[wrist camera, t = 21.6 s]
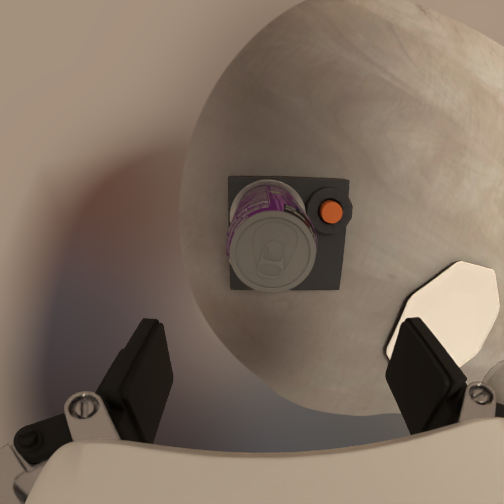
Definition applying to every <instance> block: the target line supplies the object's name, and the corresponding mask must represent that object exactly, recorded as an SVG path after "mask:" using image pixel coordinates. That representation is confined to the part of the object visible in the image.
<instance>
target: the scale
mask: <svg viewBox="0 0 504 504" xmlns="http://www.w3.org/2000/svg"><path fill="white" fill-rule="evenodd" d="M263 179H272V180H278V181H281V182H284V183H286V184H287V185H289V186H290V187H292V188H293V189H294V190H295V191H296V192H297V193H298V194H299V196H300V197H301V199H302V201H303V203H304V206H305V210H306V215H307V216H308V217H309V219H310V220H311V222H312V224H313V226H314V228H315V231H316V235H317V252H316V257H315V262H314V265H313V267H312V269H311V271H310V273H309V274H308V276H307V277H306V278H305V279H304V280H303V281H302V282H301V283H300V284H298V285H297V286H295V287H294V288H292V289H289V290H339V287H340V279H341V271H342V262H343V253H344V244H345V233H346V226H347V224H348V223H349V221H350V220H351V218H352V207H353V206H352V204H351V202H350V199H349V197H348V194H349V180H346V179H336V178H317V177H289V176H229V177H228V203H229V227H230V210H231V206H232V203H233V201H234V199H235V197H236V196H237V194H238V193H239V192H240V191H241V190H242V189H243V188H244V187H245V186H247V185H248V184H250V183H252V182H255V181H258V180H263ZM328 200H332V201H334V202H336V203H337V204H339V205H340V206H341V208H342V217H341V219H340V220H339V221H338V222H336V223H333V224H331V223H327V222H326V221H324V219H323V218H322V217H321V216H320V212H319V210H320V206H321V205H322V204H323V203H324V202H325V201H328ZM230 288H231V290H255V289H253V288H251V287H249V286H247V285H246V284H245V283H243V282H242V281H241V280H240V279H239V278H238V276H237V275H236V273H235V272H234V270H233V268H232V266H231V264H230Z"/></svg>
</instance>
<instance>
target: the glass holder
mask: <svg viewBox="0 0 504 504" xmlns="http://www.w3.org/2000/svg"><path fill="white" fill-rule="evenodd" d="M483 383H486V384H488V385H489V386H491V387H492V388H493V390H494V391H495V393H496V402H497V403H500V404H503V405H504V360H503V361H501V362H499V363H497V364H496V365H495V366H494V367H493V368H492V369H491V370H490V371H489V372H488V374H487V375H486V376H485V378H484V380H483Z"/></svg>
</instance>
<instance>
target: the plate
mask: <svg viewBox="0 0 504 504" xmlns="http://www.w3.org/2000/svg"><path fill="white" fill-rule="evenodd" d="M499 309H500V304H499V296H498V288H497V281H496V275H495V272H494V270H493V269H491V268H487V267H483V266H479V265H476V264H472V263H468V262H464V261H458V262H455V263H454V264H452V265H451V266H450V267H448V268H447V269H446V270H445V271H443V272H442V273H441V274H439V275H438V276H437V277H435V278H434V279H433V280H431V281H430V282H429V283H427V284H426V285H424V286H423V287H422V288H420V289H419V290H417V291H416V292H415V293H413V294H412V295H411V296H410V298H409V299H408V300H407V303H406V305H405V307H404V310H403V312H402V315H401V317H400V319H399V322H398V324H397V326H396V328H395V330H394V333H393V335H392V337H391V339H390V341H389V343H388V345H387V347H386V354H387V356H388V358H389V360H390V358H391V355H392V352H393V349H394V345H395V342H396V339H397V336H398V332H399V329H400V325H401V323H402V322H404V321H405V319H406V318H413V317H420V318H421V319H422V321H423V322H424V323H425V324H426V325H427V327H428V328H429V329H430V330H431V332H432V333H433V334H434V335H435V337H436V338H437V339H438V340H439V342H440V343H441V344H442V346H443V347H444V348H445V349H446V351H447V352H448V353H449V355H450V356H451V357H452V359H453V360H454V361H455V363H456V364H457V365H458V367H461V366H462V365H463V364H465V363H466V362H467V361H469V360H470V359H471V358H472V357H474V356H475V355H476V354H477V353H478V352H479V350H480V349H481V347H482V345H483V343H484V341H485V339H486V337H487V336H488V334H489V332H490V330H491V328H492V326H493V324H494V322H495V319H496V317H497V315H498V313H499Z"/></svg>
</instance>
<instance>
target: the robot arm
mask: <svg viewBox="0 0 504 504" xmlns="http://www.w3.org/2000/svg"><path fill="white" fill-rule="evenodd" d="M386 380H387V383H388V385H389V387H390V389H391V391H392V393H393V396H394V398H395V400H396V402H397V404H398V407H399V409H400V411H401V413H402V416H403V418H404V420H405V422H406V425H407V427H408V429H409V431H410V434H411V435H410V436H406V437H402V438H397V439H392V440H388V441H383V442H378V443H372V444H365V445H359V446H352V447H345V448H338V449H329V450H317V451H304V452H284V453H240V452H220V451H205V450H195V449H186V448H177V447H169V446H162V445H155V444H153V442H154V439H155V436H156V432H157V429H158V426H159V423H160V420H161V417H162V414H163V411H164V408H165V404H166V402H167V398H168V395H169V392H170V389H171V386H172V383H173V372H172V367H171V362H170V357H169V352H168V347H167V342H166V337H165V331H164V326H163V324H162V323H159V321H158V320H157V319H147V318H143V320H142V321H141V322H140V324H139V325H138V327H137V329H136V330H135V332H134V333H133V335H132V337H131V338H130V340H129V342H128V343H127V345H126V347H125V348H124V349H122V350H121V351H120V352H119V353H118V355H117V357H116V358H115V360H114V362H113V363H112V365H111V367H110V368H109V370H108V372H107V373H106V375H105V377H104V379H103V380H102V382H101V384H100V385H99V387H98V389H97V391H96V392H95V393H93V392H87V391H84V392H79V393H76V394H74V395H73V396H71V397H70V398H69V399H68V400H67V402H66V403H65V406H64V411H65V413H63V414H60V415H57V416H54V417H52V418H49V419H46V420H43V421H40V422H37V423H34V424H31V425H27V426H25V427H23V428H21V429H20V430H19V431H18V432H17V433H16V435H15V437H14V444H13V445H11V446H10V445H9V444H6V445H5V446H3V447H2V448H0V504H504V405H503V404H500V403H497V402H496V393H495V391H494V390H493V388H492V387H491V386H489V385H488V384H486V383H483V382H472V383H470V384H469V385H468V386H467V384H466V383H465V382H466V380H467V378H466V376H465V375H464V374H463V372H462V371H461V369H460V368H459V367H458V365H457V364H456V363H455V361H454V360H453V359H452V357H451V356H450V355H449V353H448V352H447V351H446V349H445V348H444V347H443V346H442V344H441V343H440V342H439V340H438V339H437V338H436V337H435V335H434V334H433V333H432V332H431V330H430V329H429V328H428V327H427V325H426V324H425V323H424V322H423V321H422V319H421V318H420V317H413V318H406V319H405V321H404V322H402V323H401V325H400V329H399V332H398V336H397V339H396V342H395V345H394V349H393V352H392V355H391V358H390V361H389V364H388V367H387V370H386Z"/></svg>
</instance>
